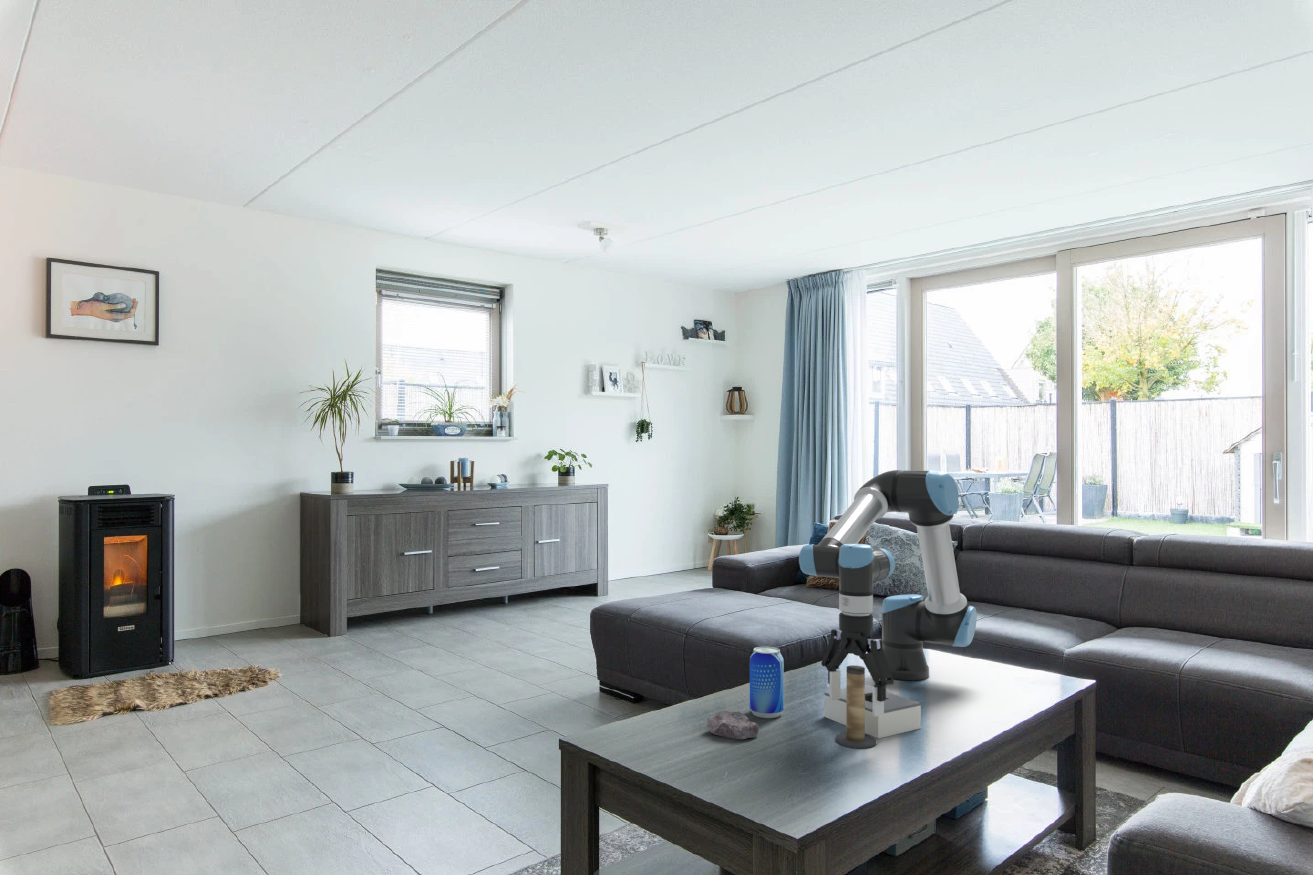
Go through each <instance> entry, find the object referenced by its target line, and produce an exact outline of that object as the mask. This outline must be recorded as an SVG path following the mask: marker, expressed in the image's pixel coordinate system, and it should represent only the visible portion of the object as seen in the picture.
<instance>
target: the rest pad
mask: <svg viewBox="0 0 1313 875" xmlns="http://www.w3.org/2000/svg"><path fill="white" fill-rule="evenodd" d="M835 742H836V743H837V744H838V745H840V746H842V747H846V748H849V749H850V748H851V749H861V750H862V749H864V750H865V749H871V748H874V747H876V745H877V738H876V737H874V736H871V735H869V734H866V733H865V740H864V741H862V742H853V741H849V740H847V738H846V732H841V733H838V734H836V735H835Z"/></svg>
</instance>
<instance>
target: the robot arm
mask: <svg viewBox="0 0 1313 875" xmlns="http://www.w3.org/2000/svg"><path fill="white" fill-rule="evenodd" d="M853 496H854V497H853V502H852V503H851V504H850V506H848V508H847V509H845V511H844V513H843V514H842V515H841V516H840V517H839V519H838V520H836V522H835V523H834V525H833V526H832V527H831V528H830V529H829V531H827V533H826V534H825V535H824V537H823V538H822V539H821V540H820V542H818V544H814V543H812V544H805V545H804V546H802V548H801V549H800V552H799V557H798V564H799V568H800V570H801V571H802V573H803V574H805V575H810V576H814V577H823V578H836V579H838V582H839V584H838V585H839V586H838V587H839V588H838V595H839V596H838V597H839V598H838V605H839V606H838V609H839V611H840V612H839V614H838V628H835V629H831V630H830V638H829V641H828V644H827V647H826V649H825V651H824V654H823V657H822V660H821V666H822V667H825V668H826V671H827V681H828V682H827V683H828V685H829V691H830V700H837V699H840V689H841V670H840V666H841V665H842V664H843V663H844V660H845V659H846V658H847V657H848V656H849V654H853V655H855V656H856V657H859V658H860V660H862V661H863V664H864V665H865V667H866V669H867V671H868V673H869V675H870V677H871V679H872V680H873V682H874V684H873V685H872V687H873V716H875V717H876V716H880V715H884V701H885V700H886V692H887V690H886V688H887V686H890V685H893V684H894V683H895V682H894V680H898V681H899V680H900V681H920V680H925V679H927V678H929V677H930V667H929V665H928V663H927V659H926V655H925V652H924V642H925V643H931V644H938V645H939V644H940V645H944V646H945V645H946V646H952V647H961V648H965V647H968V646H969V645H970V644H971V643H972V641H973V640H974V635H975V632H976V628H977V621H978V620H977V619H978V613H977V609H976V607H975V606H973V605H968V599H967V597H966V596H965V595H964V594H963V593H961V590H960V586H959V585H960V584H959V578H958V571H957V565H956V559H955V553H954V545H953V540H952V534H951V527H950V522H951V521H952V520H953V519H954V516H955V514H957V512H958V510H959V505H960V500H959V498H960V494H959V488H958V485H957V482H956V480H955V479H954V477H953V476H952V474H950V473H949V472H947V471H942V470H934V469H930V470H900V469H898V470H897V469H895V470H894V469H893V470H889V471H886V472H882V473H880V474H877V475H876V476H874V477H872V478H871V479H869V480H868V481H867V482H865V483H864V484H863V485H862V486H860V488H859V489H858V490H857V491H856V492H855V494H854V495H853ZM887 513H906V514H908V517H909V518H908V519H909V521H910V523H911V524H912V525H914V526H915V527H916V531H917V532H916V533H917V537H918V543H919V548H920V556H921V560H922V566H923V572H924V577H925V582H926V589H927V594H928V596H926V598H925V599H924V597H923V595H922V594H913V593H912V594H911V593H910V594H898V595H891V596H887V597H886V598H883V601H882V605H881V606H882V607H881V608H882V609H881V611H880V612H881V638H877V639H876V638H875V639H873V638H872V637H871V636H872V635H871V633H872V631H873V630H874V615H873V614H872V613H873V612H874V583H876V582H881V581H884V580H886V579H887V578H889V577H891V576H892V574H894V571H895V568H896V561H895V558H894V556H893V555H892V553H891V552H890V551H889V550H887V549H885V548H880V547H878V548H876V547H872V546H871V545H870V544H867V543H866V544H865V543H859V542H860V541H861V539H862V538H863V537H864V536H865V534H867V532H868V531H869V529H870V528H871V527H872V525H873V524H874V523H875V521H877V519H881V518H882V517H884V516H885V515H886V514H887Z"/></svg>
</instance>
